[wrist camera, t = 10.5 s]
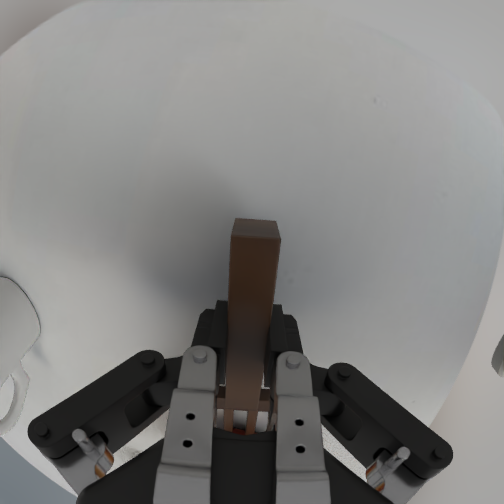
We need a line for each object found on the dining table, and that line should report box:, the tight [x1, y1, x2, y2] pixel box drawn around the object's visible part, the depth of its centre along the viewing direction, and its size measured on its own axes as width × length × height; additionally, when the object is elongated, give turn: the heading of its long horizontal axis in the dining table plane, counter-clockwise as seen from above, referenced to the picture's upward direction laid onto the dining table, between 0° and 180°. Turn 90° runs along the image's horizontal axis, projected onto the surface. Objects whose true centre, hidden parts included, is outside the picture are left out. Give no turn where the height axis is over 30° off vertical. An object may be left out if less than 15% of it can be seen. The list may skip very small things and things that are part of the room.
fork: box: [217, 218, 281, 435], centre depth 14 cm, size 16×5×2 cm, turn 176°
